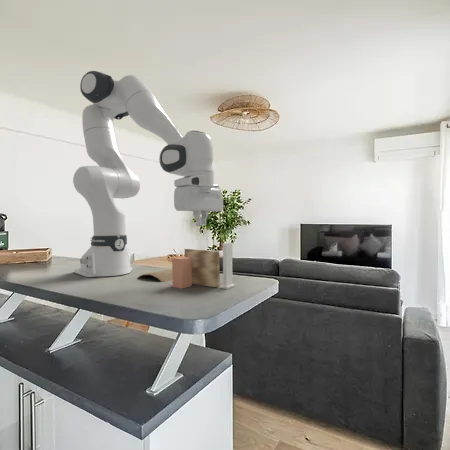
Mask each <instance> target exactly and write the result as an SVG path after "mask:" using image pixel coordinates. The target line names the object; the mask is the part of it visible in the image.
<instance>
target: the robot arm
mask: <svg viewBox="0 0 450 450" xmlns="http://www.w3.org/2000/svg"><path fill="white" fill-rule="evenodd" d="M79 85H80V86H79V87H80V89H79V90H80V92H81V94H82V96H83V97H84V98H85V99H86V100H88V101H89V102H91V103H92V104H89V105H87V106H85V107H84V109H83V110H82V123H81V124H82V132H83V137H84V143H85V148H86V149H85V150H86V153H87V156H88V157H89V158H90V159H91V160H92V161H93V162H95V163H96V165H85V166H84V165H83V166H80V167H78V168H77V169H76V170H75V173H74V175H73V178H72V183H73V187H74V188H75V191H77V193H78V194H80V195H81V196H82V197H83V198H84V199H85V201H86V202H87V204H88V206H89V208H90V210H91V211H90V212H91V215H92V224H93V227H92V228H93V235H92V237H91V239H90V241H91V242H90V247H89V248H88V249H87V250H86V251H85V253H83V255H82V256H81V258H80V259H79V262H80V268H77V269H74V270H73V272H74V274H77V275H80V276H83V277H84V278H94V277H95V278H97V277H113V276H121V275H126V274H130V273H131V272H132V271H133V266H131V260H130V253H129V249H128V248H127V244H128V236H127V234H126V215H125V213H124V211H122V209H120V208H118V206H117V205H116V203H115V201H114V199H122V200H123V199H124V200H125V199H128V198H133V197H135V196H137V195H138V194H139V191H140V189H141V181H140V179H139V177H138V175H137V174H135V173H134V172H133V171H132V169H130V167H128V165H127V163H126V162H125V160H124V158H123V157H122V155H121V152H120V150H119V145H118V141H117V137H116V136H117V135H116V131H115V127H114V120H119V121H120V120H122V119H124V118H125V117H130V118H131V120H132V121H134V122H135V123H136V125H137V126H138V127H140V128H142V129H144V130H146V131H147V132H150V133H153V134H154V135H156V136H157V137H159V138H161V140H163V141H164V142H165V143H166V145H165V146H164V147H163V148H162V150H161V151H160V153H159V159H158V161H159V165H160V167H161V169H162V170H163V172H166V173H169V174H172V175H175V176H180V178H178V179H174V180H173V182H174V183H173V185H174V187H175V189H174V193H173V205H174V209H175V210H176V211H178V212H192V215H193V217H194V219H195V225H196V226H197V227H199V226H201V227H202V226H206V225H207V219H208V217H209V212H222V211H223V210H224V200H223V192H222V190H221V187H220V186H219V185H218V184H216V183H215V179H214V178H215V176H214V175H215V174H214V173H215V172H214V169H213V162H214V148H213V146H214V145H213V142H212V138H211V136H210V135H209V134H208V133H206V132H203V131H200V130H190V131H187V132H186V133H185V135H183V134H182V132H181V131H180V130H179V129H178V127H177V126H176V125H175V124H174V122H173V121H172V120H171V119H170V117H169V116H168V114H167V113H166V112H165V110H164V109H163V107H162V106H161V104H160V103H159V101H158V99H157V98H156V96H155V95H154V93H153V91H152V90H151V89H150V88H149V87H148V86H147V84H146V83H145V82H144V81H143V80H142V79H141V78H139V77H138V76H136V75H133V74H128V75H125V76H123V77H122V78H120V79H119V80H115V79H114V78H113V77H112V76H111V75H109V74H106V73H103V72H101V71H96V70H89V71H88V72H86V73H85V74H84V75H83V76H82V78H81V80H80V84H79Z"/></svg>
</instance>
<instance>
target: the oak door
mask: <svg viewBox="0 0 450 450" xmlns="http://www.w3.org/2000/svg"><path fill="white" fill-rule="evenodd" d="M184 257H189V258H191V270H192V285H194V284H195V285H201V286H206V287H212V288H221V283H220V281H221V280H220V279H221V278H220V276H221V275H220V274H221V273H220V250H209V249H208V250H207V249H193V248H184Z"/></svg>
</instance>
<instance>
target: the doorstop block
mask: <svg viewBox="0 0 450 450" xmlns="http://www.w3.org/2000/svg"><path fill="white" fill-rule="evenodd" d="M171 260H172V261H171V263H172V265H171V267H172V268H171V270H172V280H171V281H172V287H173V288H177V289H185V288H189V287H192V285H193V283H192V270H191V258H189V257H185V256H179V257H173V258H171Z"/></svg>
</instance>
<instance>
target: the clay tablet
mask: <svg viewBox="0 0 450 450" xmlns="http://www.w3.org/2000/svg"><path fill="white" fill-rule="evenodd" d="M150 276H153V277H154V278H157V279H158V280H159V281H160V282H161V283H166V282H167V283H168V282H171V281H173V280H172V269H164V270H161V271H160V270H159V271H154V272H148V273H144V274H141V275H139V276H138V277H137V278H138V279H140V278H146V277H150Z"/></svg>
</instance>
